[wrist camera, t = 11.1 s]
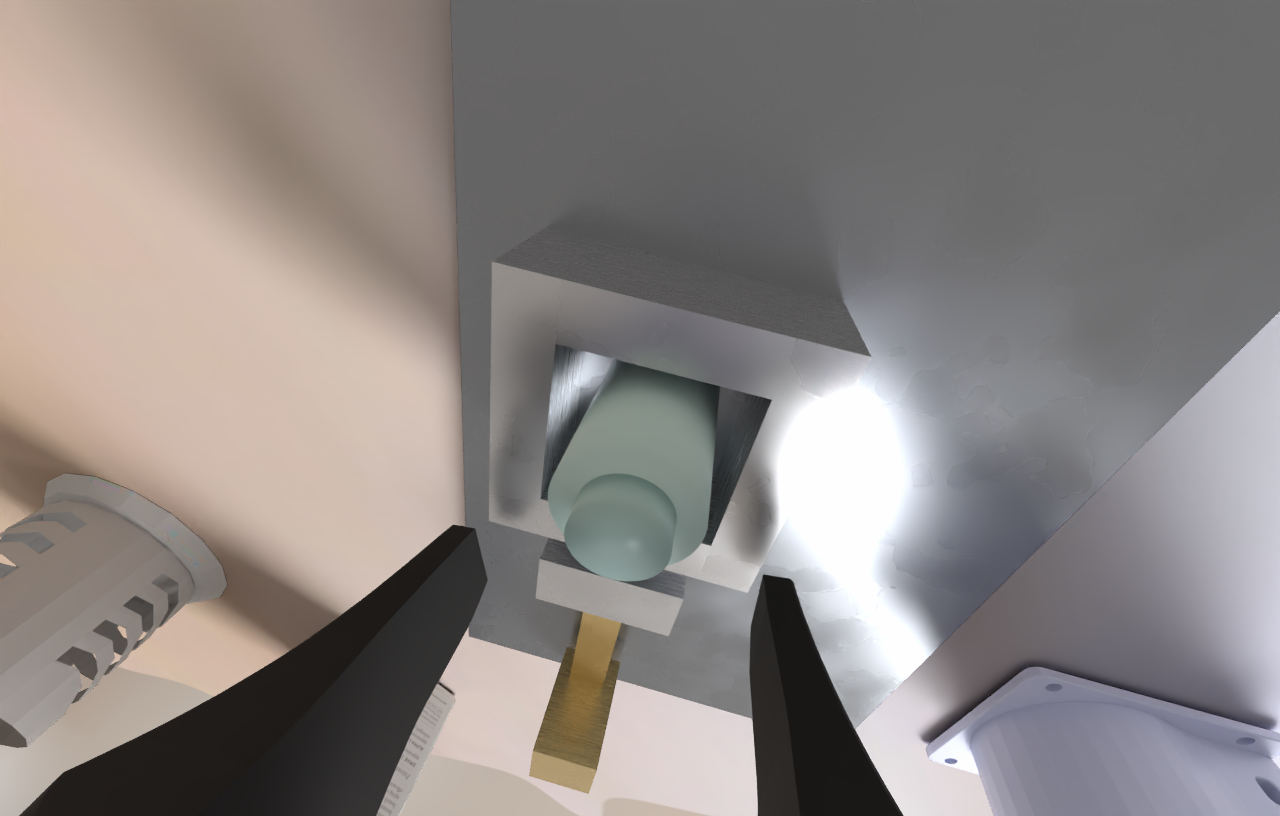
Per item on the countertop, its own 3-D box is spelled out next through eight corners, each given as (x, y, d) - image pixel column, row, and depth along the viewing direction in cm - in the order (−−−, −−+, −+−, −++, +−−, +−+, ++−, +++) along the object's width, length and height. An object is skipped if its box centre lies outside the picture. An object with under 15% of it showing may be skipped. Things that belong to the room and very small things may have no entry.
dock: (1533, -19, 8) (2132, -110, 4) (836, 720, 23) (852, 825, 19) (472, -232, 9) (299, -444, 5) (478, 617, 24) (435, 701, 20)
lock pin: (656, 548, 16) (634, 662, 13) (612, 688, 22) (588, 793, 19) (588, 529, 16) (549, 638, 13) (561, 673, 22) (529, 775, 19)
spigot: (734, 352, 13) (727, 506, 8) (702, 446, 14) (681, 619, 9) (617, 323, 13) (538, 454, 8) (600, 419, 14) (528, 574, 10)
